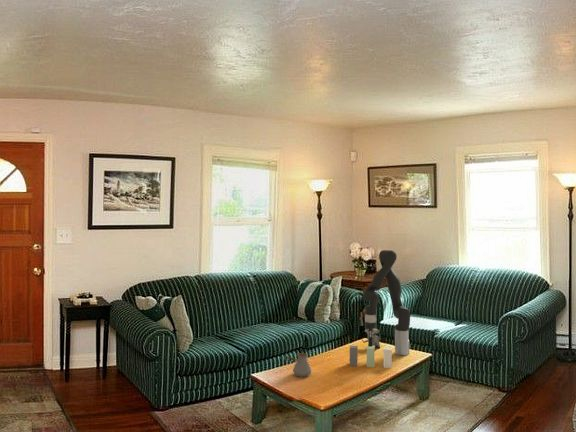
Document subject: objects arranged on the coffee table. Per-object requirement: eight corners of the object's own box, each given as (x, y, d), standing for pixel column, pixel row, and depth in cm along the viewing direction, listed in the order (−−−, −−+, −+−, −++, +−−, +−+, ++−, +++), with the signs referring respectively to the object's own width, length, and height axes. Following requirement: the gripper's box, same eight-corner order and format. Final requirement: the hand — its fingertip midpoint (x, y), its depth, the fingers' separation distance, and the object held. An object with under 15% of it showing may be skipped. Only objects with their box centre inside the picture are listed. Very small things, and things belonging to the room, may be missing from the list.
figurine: (370, 345, 376) (370, 325, 376) (381, 349, 367) (381, 328, 366) (361, 347, 371) (361, 327, 370) (373, 351, 362) (373, 330, 361)
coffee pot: (300, 370, 322) (300, 347, 321) (315, 374, 314) (315, 350, 313) (278, 379, 305) (278, 355, 305) (293, 384, 298) (293, 359, 297)
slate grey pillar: (349, 363, 336) (350, 345, 335) (357, 363, 335) (357, 345, 334) (349, 365, 331) (349, 347, 330) (357, 366, 330) (357, 348, 330)
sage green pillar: (366, 364, 334) (366, 346, 334) (374, 364, 333) (374, 346, 333) (366, 366, 329) (366, 348, 329) (374, 367, 328) (374, 348, 328)
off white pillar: (383, 365, 332) (383, 347, 332) (391, 365, 332) (391, 347, 331) (383, 367, 327) (383, 349, 327) (391, 368, 327) (391, 349, 326)
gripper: (365, 318, 347) (364, 343, 347) (364, 323, 334) (364, 348, 334) (376, 318, 345) (375, 343, 346) (376, 323, 332) (376, 349, 333)
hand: (370, 346), depth 340 cm, fingers closed
